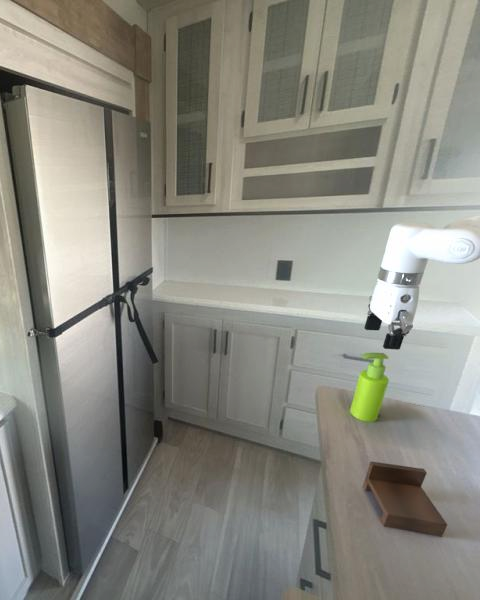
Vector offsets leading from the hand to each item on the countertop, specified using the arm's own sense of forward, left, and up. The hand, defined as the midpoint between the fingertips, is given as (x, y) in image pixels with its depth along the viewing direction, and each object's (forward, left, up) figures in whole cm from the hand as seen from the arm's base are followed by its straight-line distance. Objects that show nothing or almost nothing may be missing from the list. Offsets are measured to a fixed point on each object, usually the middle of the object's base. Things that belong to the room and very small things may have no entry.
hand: (380, 338), depth 85 cm
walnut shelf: (+5, +31, -25) cm, 40 cm away
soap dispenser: (0, 0, -25) cm, 25 cm away
